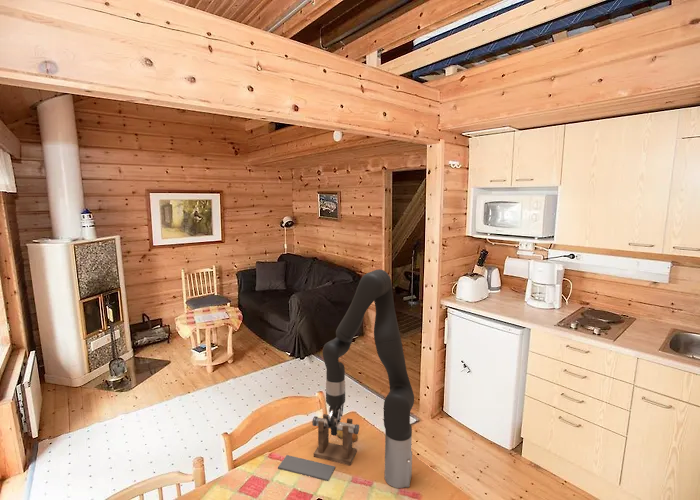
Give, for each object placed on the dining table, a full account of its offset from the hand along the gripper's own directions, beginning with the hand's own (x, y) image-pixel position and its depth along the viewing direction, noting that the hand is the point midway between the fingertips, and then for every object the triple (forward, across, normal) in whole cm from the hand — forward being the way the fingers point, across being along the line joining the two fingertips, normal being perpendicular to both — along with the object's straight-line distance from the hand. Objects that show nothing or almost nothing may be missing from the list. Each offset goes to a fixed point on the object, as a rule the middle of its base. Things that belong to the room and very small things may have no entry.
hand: (335, 432), depth 138 cm
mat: (+9, -10, +8) cm, 16 cm away
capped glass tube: (-3, 0, 0) cm, 3 cm away
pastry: (+10, +13, 0) cm, 16 cm away
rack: (+9, 0, 0) cm, 9 cm away
